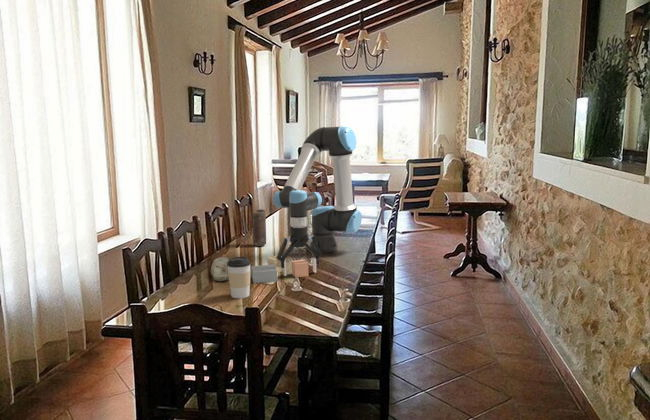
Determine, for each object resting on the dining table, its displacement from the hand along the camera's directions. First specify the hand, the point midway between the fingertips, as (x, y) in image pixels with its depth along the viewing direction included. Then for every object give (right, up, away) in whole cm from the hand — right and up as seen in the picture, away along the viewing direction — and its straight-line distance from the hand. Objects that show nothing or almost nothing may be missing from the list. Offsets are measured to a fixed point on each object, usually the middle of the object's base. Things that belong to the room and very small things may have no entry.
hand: (299, 273), depth 215 cm
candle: (-25, +8, +56) cm, 62 cm away
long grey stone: (-36, -1, +8) cm, 37 cm away
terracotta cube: (0, -1, 0) cm, 1 cm away
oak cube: (-11, 0, +8) cm, 14 cm away
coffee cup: (-22, -5, -26) cm, 34 cm away
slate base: (-15, -2, -5) cm, 16 cm away
